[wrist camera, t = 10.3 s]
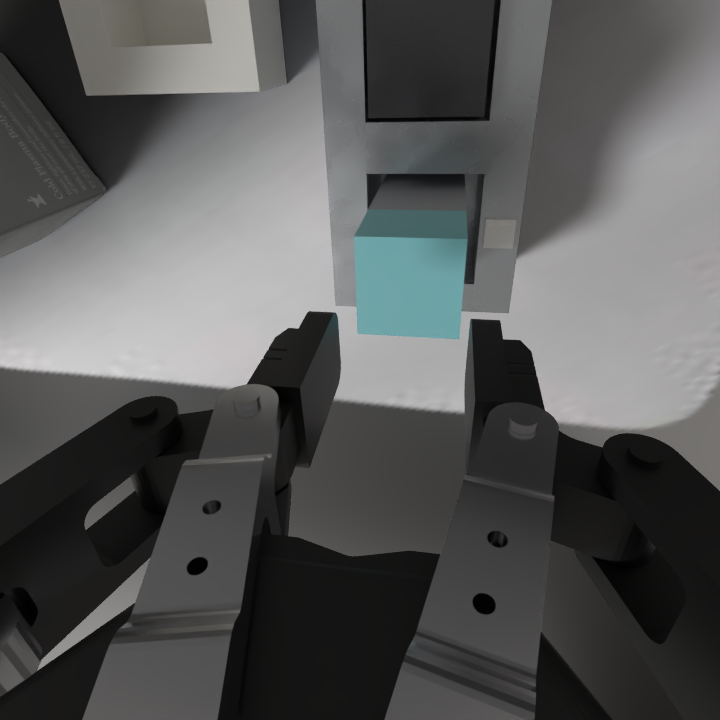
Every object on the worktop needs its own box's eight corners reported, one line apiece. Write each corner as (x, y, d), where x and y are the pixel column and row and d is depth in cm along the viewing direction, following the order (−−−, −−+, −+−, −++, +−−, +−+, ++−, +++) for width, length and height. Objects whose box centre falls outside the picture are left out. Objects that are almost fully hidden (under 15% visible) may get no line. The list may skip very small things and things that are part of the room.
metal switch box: (355, 262, 29) (332, 313, 23) (342, -54, 21) (304, -84, 16) (500, 267, 27) (510, 321, 22) (541, -68, 20) (570, -105, 15)
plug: (392, 163, 25) (353, 236, 16) (464, 163, 24) (467, 239, 15) (392, 232, 27) (357, 333, 18) (458, 234, 26) (458, 339, 17)
